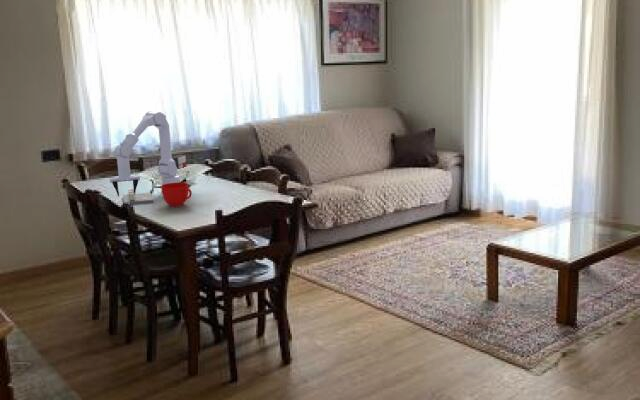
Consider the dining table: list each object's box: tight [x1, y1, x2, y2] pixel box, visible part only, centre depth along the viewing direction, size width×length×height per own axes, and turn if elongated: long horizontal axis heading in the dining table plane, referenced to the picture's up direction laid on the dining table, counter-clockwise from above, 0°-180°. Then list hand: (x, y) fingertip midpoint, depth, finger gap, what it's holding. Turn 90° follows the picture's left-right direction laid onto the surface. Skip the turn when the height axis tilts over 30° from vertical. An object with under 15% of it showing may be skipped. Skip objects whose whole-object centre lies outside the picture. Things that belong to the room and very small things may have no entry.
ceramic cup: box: [160, 182, 192, 208], centre depth 294 cm, size 13×17×10 cm
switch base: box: [122, 192, 155, 206], centre depth 309 cm, size 14×19×2 cm
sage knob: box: [128, 192, 136, 200], centre depth 301 cm, size 2×2×3 cm
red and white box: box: [172, 154, 188, 169], centre depth 355 cm, size 11×4×15 cm, turn 168°
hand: (126, 195), depth 306 cm, fingers open, 7 cm apart
